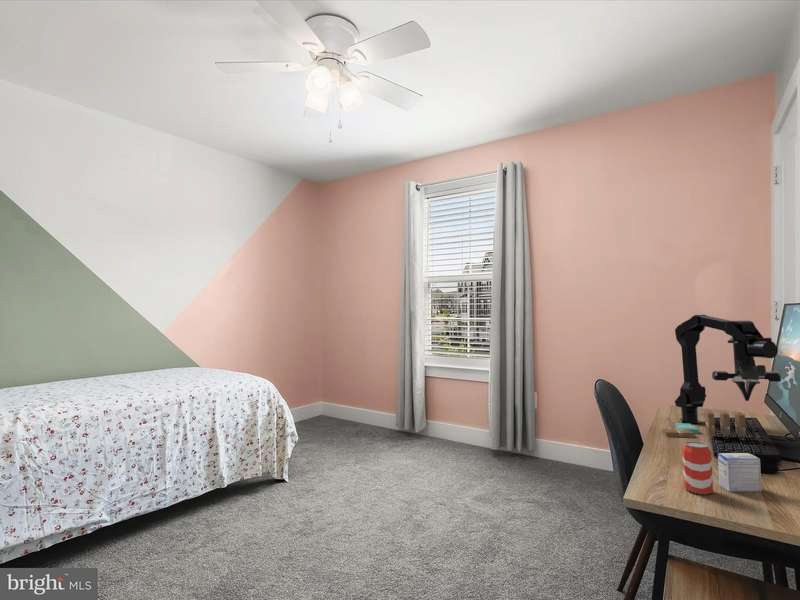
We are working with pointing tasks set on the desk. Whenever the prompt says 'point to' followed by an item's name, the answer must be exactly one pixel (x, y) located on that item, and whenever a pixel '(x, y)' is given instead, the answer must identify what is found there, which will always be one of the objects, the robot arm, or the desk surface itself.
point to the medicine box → (739, 472)
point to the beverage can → (697, 467)
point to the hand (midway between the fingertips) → (746, 400)
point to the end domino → (687, 427)
